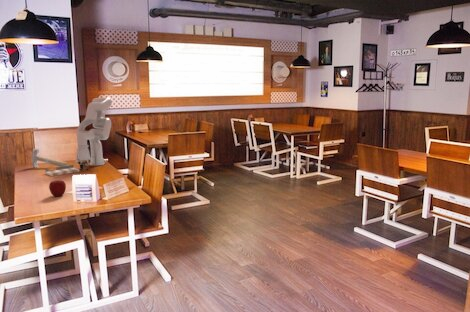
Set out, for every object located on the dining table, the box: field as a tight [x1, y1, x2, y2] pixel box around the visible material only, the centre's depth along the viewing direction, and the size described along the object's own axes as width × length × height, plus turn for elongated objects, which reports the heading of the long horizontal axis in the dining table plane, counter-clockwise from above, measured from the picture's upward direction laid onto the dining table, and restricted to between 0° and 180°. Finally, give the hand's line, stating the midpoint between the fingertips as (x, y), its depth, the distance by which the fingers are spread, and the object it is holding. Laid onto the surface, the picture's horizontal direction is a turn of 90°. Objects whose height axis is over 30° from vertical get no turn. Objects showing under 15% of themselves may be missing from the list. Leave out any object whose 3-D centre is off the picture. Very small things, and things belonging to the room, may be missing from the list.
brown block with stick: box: [81, 161, 90, 171], centre depth 321 cm, size 4×10×6 cm, turn 46°
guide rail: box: [44, 164, 75, 172], centre depth 313 cm, size 22×1×2 cm, turn 136°
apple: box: [48, 180, 67, 197], centre depth 242 cm, size 10×10×10 cm
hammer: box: [30, 148, 68, 169], centre depth 331 cm, size 16×5×30 cm
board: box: [44, 167, 80, 177], centre depth 310 cm, size 22×12×2 cm, turn 136°
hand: (84, 168), depth 323 cm, fingers closed on brown block with stick, 3 cm apart
